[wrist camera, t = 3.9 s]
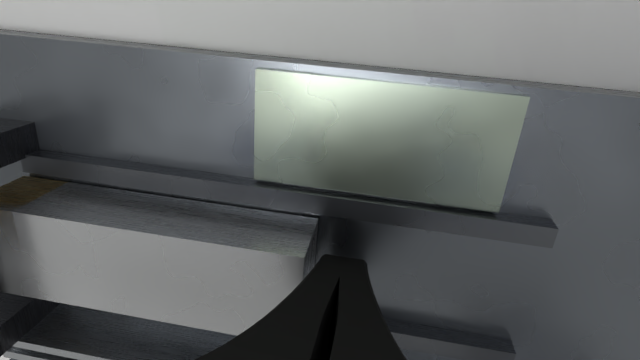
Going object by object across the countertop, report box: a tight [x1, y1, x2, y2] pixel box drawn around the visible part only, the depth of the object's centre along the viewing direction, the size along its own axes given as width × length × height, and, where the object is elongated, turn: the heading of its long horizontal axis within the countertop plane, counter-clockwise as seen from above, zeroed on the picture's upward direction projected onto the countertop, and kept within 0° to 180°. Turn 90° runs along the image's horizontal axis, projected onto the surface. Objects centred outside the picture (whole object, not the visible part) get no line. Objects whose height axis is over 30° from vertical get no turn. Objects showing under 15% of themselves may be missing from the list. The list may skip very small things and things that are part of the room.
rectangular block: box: [0, 176, 318, 336], centre depth 13 cm, size 10×3×2 cm, turn 86°
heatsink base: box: [0, 30, 640, 360], centre depth 12 cm, size 25×12×5 cm, turn 86°
